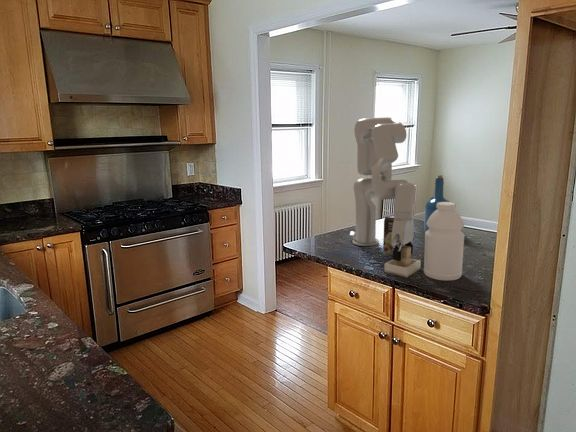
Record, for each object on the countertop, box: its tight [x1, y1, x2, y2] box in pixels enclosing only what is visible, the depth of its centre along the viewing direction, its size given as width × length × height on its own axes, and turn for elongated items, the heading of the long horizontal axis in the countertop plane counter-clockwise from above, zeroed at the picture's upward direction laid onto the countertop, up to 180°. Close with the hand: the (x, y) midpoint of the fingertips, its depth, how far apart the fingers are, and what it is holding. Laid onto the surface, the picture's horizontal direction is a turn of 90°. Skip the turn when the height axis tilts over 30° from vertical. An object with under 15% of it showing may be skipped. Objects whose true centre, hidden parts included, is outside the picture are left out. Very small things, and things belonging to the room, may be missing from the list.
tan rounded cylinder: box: [396, 245, 412, 267], centre depth 170 cm, size 4×4×9 cm
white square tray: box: [384, 258, 422, 278], centre depth 171 cm, size 10×12×4 cm
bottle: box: [423, 201, 466, 282], centre depth 163 cm, size 14×14×28 cm
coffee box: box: [382, 216, 405, 257], centre depth 190 cm, size 9×6×16 cm
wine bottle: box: [423, 174, 450, 233], centre depth 220 cm, size 14×13×30 cm
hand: (402, 257), depth 170 cm, fingers open, 9 cm apart
